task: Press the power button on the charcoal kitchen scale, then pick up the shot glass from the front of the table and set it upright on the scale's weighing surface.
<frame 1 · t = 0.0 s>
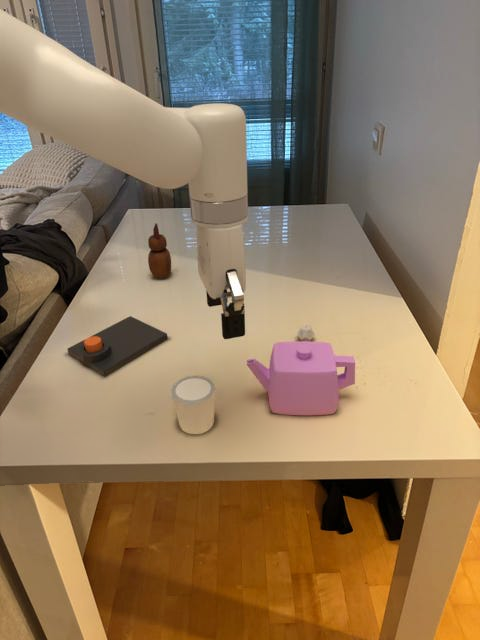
hand: (225, 319, 70), 17 cm above the table, tool pointing down, fingers open, 9 cm apart
scale: (119, 346, 95), on the table
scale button: (93, 344, 90), point 4 cm above the table, slide at 0.1 cm
shot glass: (196, 422, 76), on the table
teapot: (299, 397, 81), on the table
wooden figurine: (161, 276, 124), on the table
game die: (305, 340, 96), on the table
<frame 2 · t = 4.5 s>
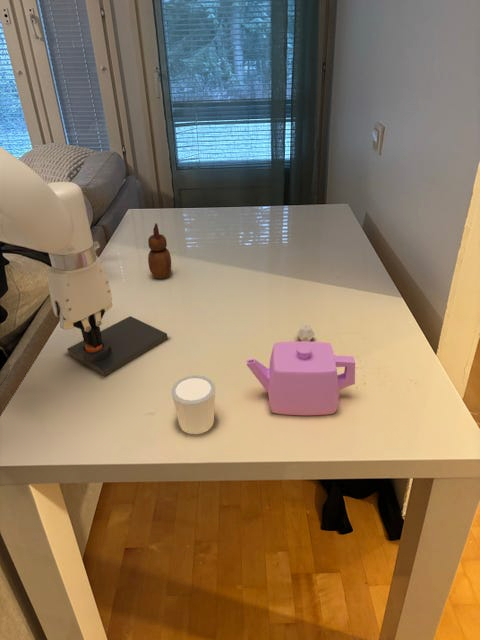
hand: (94, 343, 90), 4 cm above the table, tool pointing down, fingers closed
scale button: (94, 348, 91), point 3 cm above the table, slide at -0.7 cm, touching gripper
everything else where it was.
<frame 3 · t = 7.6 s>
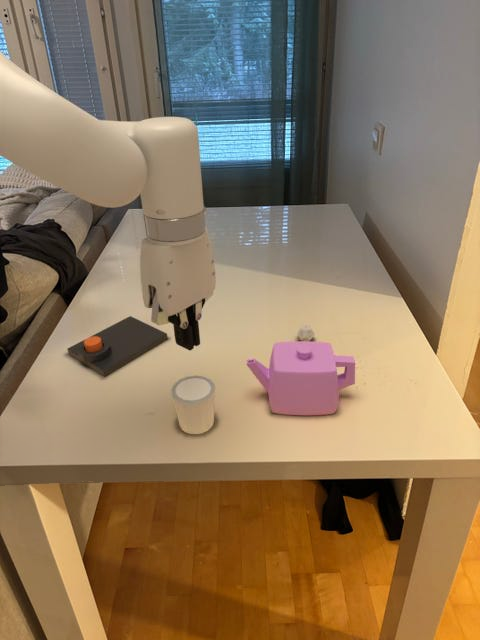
hand: (188, 344, 68), 15 cm above the table, tool pointing down, fingers closed
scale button: (93, 344, 90), point 3 cm above the table, slide at 0.1 cm
everything else where it was.
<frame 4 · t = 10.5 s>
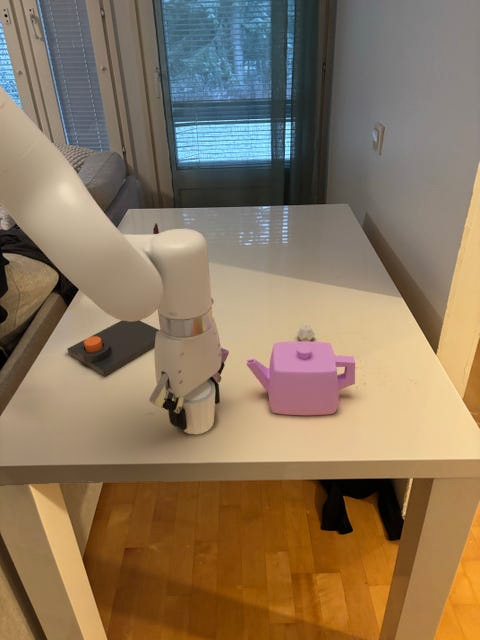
hand: (195, 411, 75), 2 cm above the table, tool pointing down, fingers closed on shot glass, 6 cm apart
shot glass: (196, 422, 76), on the table, touching gripper
everything else where it was.
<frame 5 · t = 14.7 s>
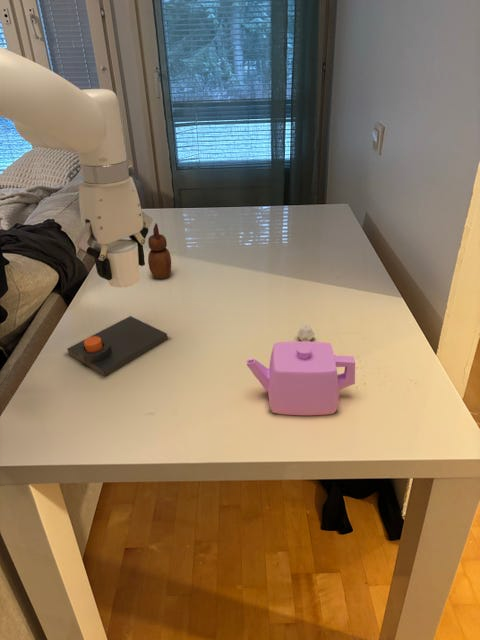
hand: (122, 270, 86), 17 cm above the table, tool pointing down, fingers closed on shot glass, 6 cm apart
shot glass: (124, 281, 87), point 15 cm above the table, touching gripper
everything else where it was.
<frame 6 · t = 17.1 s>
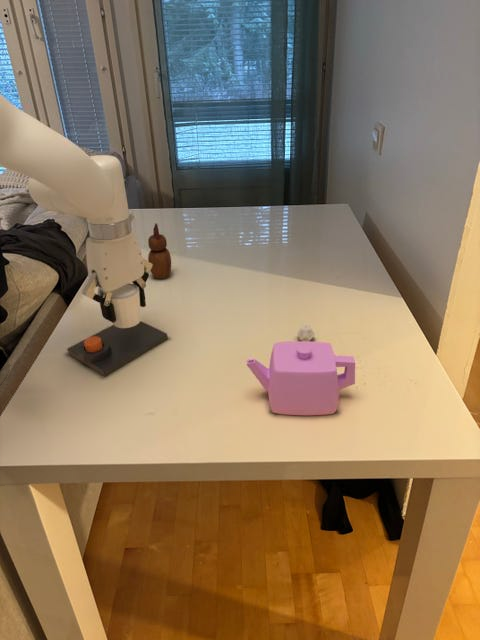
hand: (125, 311, 94), 7 cm above the table, tool pointing down, fingers closed on shot glass, 6 cm apart
shot glass: (127, 321, 95), point 5 cm above the table, touching gripper
everything else where it was.
when the fingers open (4 cm above the table, at t = 18.8 s): shot glass stays where it is, resting on scale.
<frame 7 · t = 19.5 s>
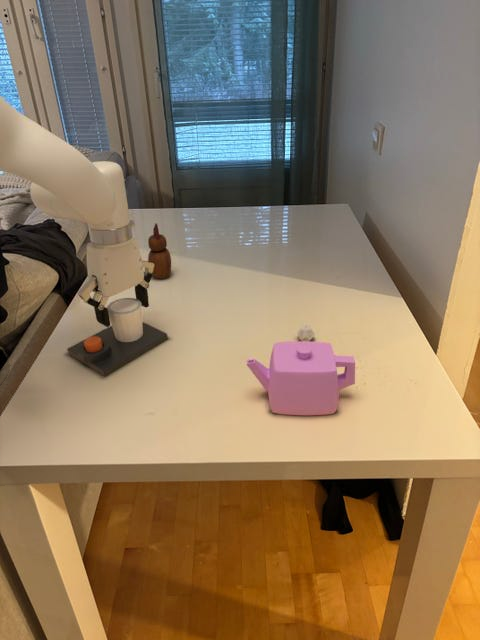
hand: (124, 314, 94), 6 cm above the table, tool pointing down, fingers open, 9 cm apart
shot glass: (129, 335, 97), point 1 cm above the table, touching scale
everything else where it was.
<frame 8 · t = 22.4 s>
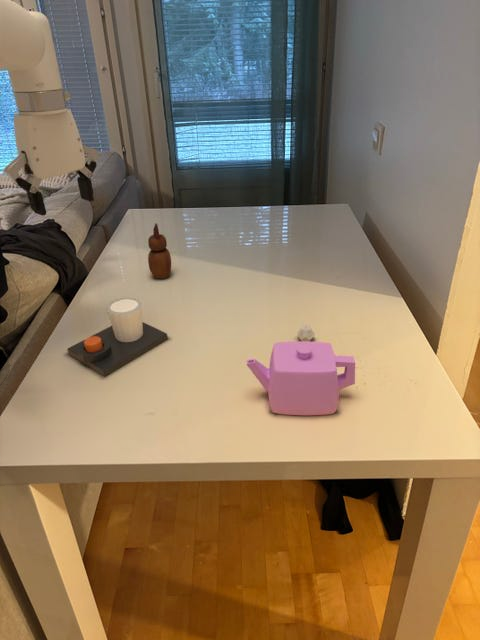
hand: (64, 206, 84), 28 cm above the table, tool pointing down, fingers open, 9 cm apart
nothing on the table moved.
at the end: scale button pushed in 0.9 cm at the most during the clip, back to where it started at the end; shot glass inside the target area on the scale (0.6 cm from its centre), point 1.2 cm above the scale's base; shot glass tilted 0° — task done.
